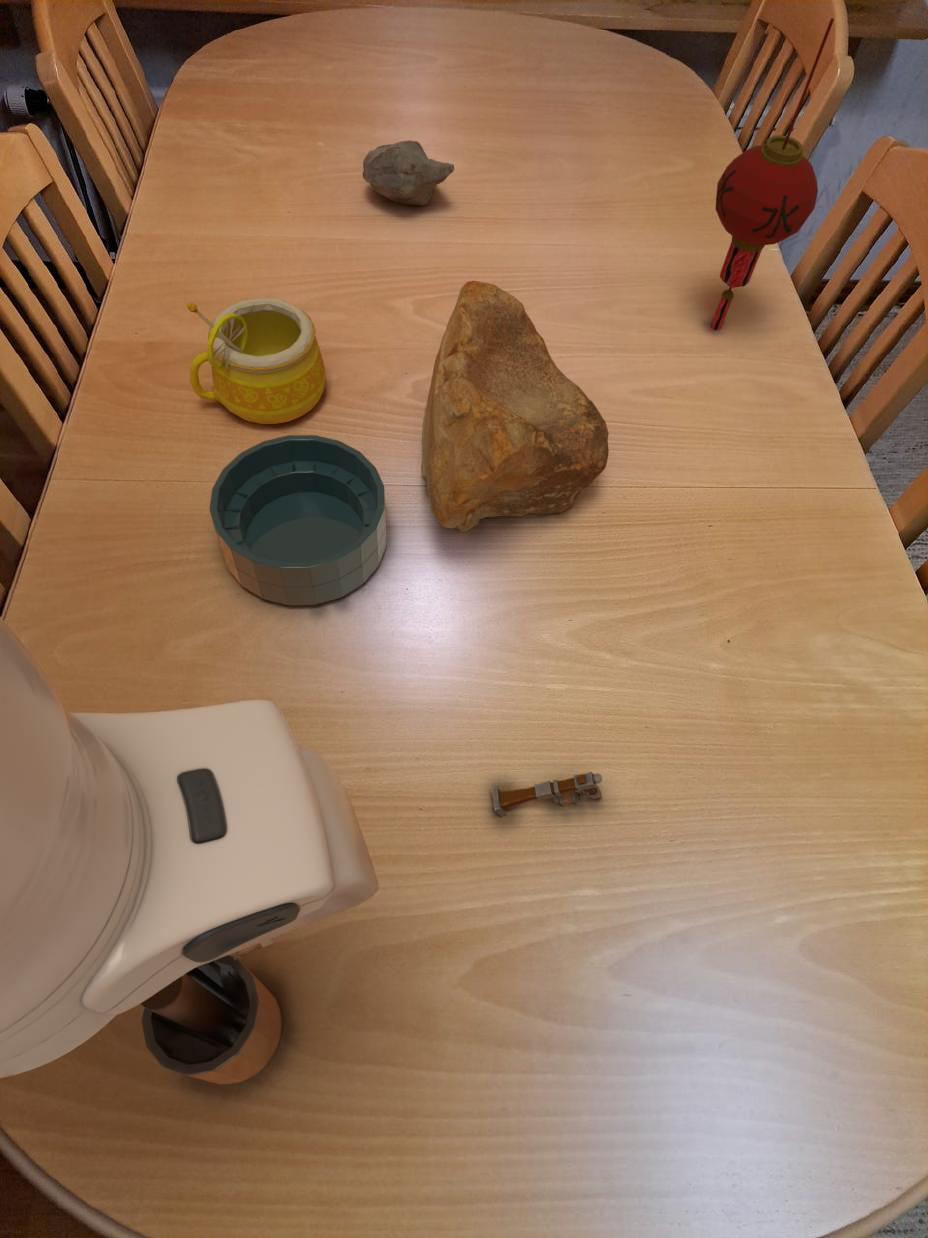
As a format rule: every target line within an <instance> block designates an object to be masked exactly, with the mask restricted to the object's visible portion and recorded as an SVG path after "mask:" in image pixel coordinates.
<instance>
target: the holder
mask: <svg viewBox="0 0 928 1238" xmlns="http://www.w3.org/2000/svg"><path fill="white" fill-rule="evenodd" d="M186 974H187V975H188V976H190V977H191V978H192V979H194V980H195V981H197V982H198V983H199V984H201V985H202V986H204V987H205V988H206V989H208V990H209V991H211V992H212V993H214V994H215V995H216V996H218V997H219V998H221V999H222V1000H223V1001H225V1002H226V1003H228V1004H229V1005H230V1006H232V1007H233V1008H235V1009H236V1010H237V1011H239V1012H240V1013H242V1014H243V1015H244V1016H245V1017H246V1025H245V1027H244V1029H243V1030H242V1032H241V1033H240V1035H239V1036H238V1038H237V1040H236V1041H235V1043H234V1044H233V1046H232V1047H227V1046H224V1045H222V1044H220V1043H218V1042H216V1041H214V1040H211V1039H209V1038H207V1037H205V1036H203V1035H201V1034H199V1033H197V1032H195V1031H192V1030H190V1029H188V1028H186V1027H184V1026H182V1025H180V1024H178V1023H175V1022H173V1021H171V1020H169V1019H167V1018H165V1017H163V1016H161V1015H158V1014H156V1013H154V1012H152V1011H150V1010H148V1009H146V1008H144V1007H143V1012H142V1016H141V1026H142V1030H143V1038H144V1043H145V1047H146V1048H147V1050H148V1051H149V1052H150V1054H151V1055H152V1056H153V1058H154V1059H155V1060H156V1061H157V1063H158V1064H159V1065H160V1066H161V1067H162V1068H164V1069H166V1070H169V1071H171V1072H175V1073H178V1074H180V1075H183V1076H186V1077H190V1078H194V1079H197V1080H202V1081H206V1082H209V1083H214V1084H216V1085H217V1084H218V1085H234V1084H237V1083H242V1082H244V1081H247V1080H248V1079H250V1078H253V1077H254V1076H255V1075H257V1074H258V1073H260V1072H261V1071H262V1070H263V1069H264V1068H265V1067H266V1066H267V1064H268V1063H269V1062H270V1060H272V1058H273V1056H274V1054H275V1053H276V1050H277V1049H278V1046H279V1043H280V1041H281V1036H282V1030H283V1029H282V1028H283V1027H282V1026H283V1023H282V1013H281V1010H280V1006H279V1004H278V1001H277V998H276V997H275V996H274V995H273V994H272V992H270V991H269V989H268V988H267V987H266V986H265V985H264V983H263V982H261V980H260V979H258V978H257V977H256V976H255V974H254V973H253V972H251V970H250V969H248V968H247V966H246V965H245V964H244V963H243V962H242V961H241V960H240V959H239V958H237V957H236V956H233V955H231V954H230V955H227V956H225V957H222V958H219V959H217V960H214V961H212V962H209V963H206V964H204V965H201V966H199V967H196V968H194V969H192V970H190V971H189V972H187V973H186Z"/></svg>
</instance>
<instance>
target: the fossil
mask: <svg viewBox="0 0 928 1238" xmlns="http://www.w3.org/2000/svg"><path fill="white" fill-rule="evenodd" d="M362 169H363V171H362V178H363V180H364V181H365V182H366V183H368V184H369V186H371V188H372V189H374V191H375V192H377V193H378V194H380V195H382V196H384V197H385V198H387V199H388V200H391V201H393V202H396V203H398V204H401V205H406V206H410V207H423V206H426V205H428V203H429V202H430V200H431V197H432V195H433V193H434V190H435V189H436V186H437V185H440V184H441V183H444V182H445V180H447V178H448V177H449V176H450V175H451V174H452V173H454V170H455V165H454V164H453V163H450V162H442V161H437V160H435V159H432V158H429V157H428V155H427V153H426V152H425V149H424V148H423V146H422V144H421V143H420V142H419V141H417V140H411V139H410V140H403V141H402V140H401V141H398V142H395V143H390V144H382V145H379V146H376V148H375V149H374V150H369V151H368V153H367V155H366V156H365V157H364V159H363V161H362Z"/></svg>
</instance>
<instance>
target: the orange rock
mask: <svg viewBox="0 0 928 1238" xmlns="http://www.w3.org/2000/svg"><path fill="white" fill-rule="evenodd" d="M421 432H422V434H421V435H422V436H421V437H422V438H421V443H422V456H421V464H420V466H421V467H420V470H421V471H420V472H421V478H422V480H423V481H424V482H425V484H427V495H428V499H429V507H430V508H429V509H430V512H431V514H433V515H434V517H435V519H436V521H437V522H438V523H439V524H440V525H441V527H442V528H447V529H457V530H458V531H460V532H461V533H463V532H467V531H469V530H471V529H472V528H474V527H476V526H479V524H480V520H481V519H484V518H493V517H502V516H504V517H524V516H528V515H529V514H531V513H532V514H537V515H540V514H541V515H551V514H561V513H563V512H565V511H566V510H567V509H569V508H571V506H573V504H574V503H575V501H576V500H577V499H578V497H579V495H580V494H581V492H582V491H583V490H585V489H586V488H588V487H589V486H590V485H591V484H592V483H593V482H594V481H595V480H596V479H597V478H598V477H599V476H600V475H601V473H602V472H603V471H604V470H605V469H606V468H607V463H608V459H609V452H610V450H609V430H608V426H607V421H605V419H604V417H603V415H602V414H601V413H600V411H599V410H598V408H597V406H596V405H595V403H594V402H593V400H591V399H590V398H589V397H588V396H587V395H586V393H585V392H584V391H583V390H582V388H581V387H579V385H578V384H576V383H575V382H574V381H572V380H571V379H570V378H568V377H567V376H566V375H565V374H564V373H563V372H562V371H561V369H559V368H558V366H557V364H556V363H555V361H554V360H553V358H552V357H551V355H550V353H549V350H548V348H547V345H546V341H545V339H544V338H543V337H542V336H541V334H540V333H539V332H538V331H537V328H536V326H535V324H534V322H533V320H532V319H531V318H530V316H529V314H528V313H527V311H526V309H525V305H524V304H523V303H522V302H521V301H519V299H517V297H516V296H514V295H513V294H511V293H509V292H508V291H505V290H504V289H501V288H500V287H499V286H497V285H495V284H493V283H489V282H484V281H479V280H469V281H467V282H465V284H463V285H462V287H461V288H460V290H459V293H458V295H457V299H456V302H455V306H454V308H453V311H452V313H451V315H450V317H449V319H448V322H447V325H446V328H445V330H444V332H443V335H442V337H441V342H440V345H439V348H438V351H437V354H436V356H435V360H434V364H433V370H432V374H431V380H430V385H429V391H428V396H427V402H426V406H425V409H424V415H423V422H422V431H421Z"/></svg>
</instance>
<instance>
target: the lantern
mask: <svg viewBox="0 0 928 1238" xmlns="http://www.w3.org/2000/svg"><path fill="white" fill-rule="evenodd" d="M834 21H835V18H830V20H829V22H828V25H827V27H826V31H825V33H824V36H823V38H822V42H821V44H820V46H819V49H818V52H817V54H816V57H815V60H814V62H813V65H812V67H811V70H810V73H809V75H808V78H807V81H806V84H805V87H804V89H803V91H802V94H801V96H800V100H799V101H798V104H797V108H796V110H795V113H794V115H793V118H792V121H791V123H790V126H789V128H788V131H787V134H786V135H781V134H780V135H778V134H777V135H773V136H770V137H767V139H766V141H765V142H764V144H762V145H756V146H753V147H750V148H747V149H746V150H745V151H743V152H742V153H741V154H739V155H738V156H736V157H735V158H734V159H732V160H731V162H730V163H729V164H728V165H727V166H726V167H725V169H724V171H723V173H722V174H721V176H720V178H719V180H718V181H717V184H716V185H717V186H716V194H715V195H716V196H715V212H716V214H717V216H718V219H719V221H720V224H721V225H722V227H723V228H724V230H725V232H727V233H728V234H729V235H730V236H731V242H730V244H729V247H728V250H727V253H726V255H725V258H724V261H723V264H722V267H721V270H720V273H719V278H720V280H721V281H722V282H723V283H724V284H726V285H727V287H729V288H728V289H725V290H723V292H722V293H721V297H720V298H719V302H718V305H717V307H716V310H715V313H714V316H713V318H712V321H711V323H710V327H711V329H713V330H714V331H719V330H721V329H722V327H723V324H724V322H725V319H726V317H727V315H728V312H729V309H730V307H731V304H732V301H733V299H734V295H735V294H734V293H735V292H733V289H735V288H740V287H745V286H747V285H748V284H749V283H750V281H751V279H752V276H753V273H754V271H755V269H756V266H757V263H758V261H759V258H760V255H761V253H762V250H763V249H764V248H765V246H770V245H771V246H772V245H775V244H778V243H780V242H782V241H784V240H786V239H789V238H790V237H792V236H793V235H795V234H797V233H798V232H799V231H800V230H801V229H802V227H803V226H804V224H805V223H806V221H808V219H809V217H810V216H811V214H812V213H813V212H814V210H815V209H816V203H817V197H818V192H819V189H818V180H817V177H816V173H815V170H814V166H813V165H812V164H811V163H810V161H809V160H808V159H807V157H805V156H804V155H803V151H804V146H803V145H802V143H801V142H800V141H799V140H797V139H795V138H794V137H791V134H792V131H793V129H794V126H795V124H796V121H797V118H798V115H799V113H800V110H801V107H802V105H803V102H804V100H805V98H806V94H807V92H808V90H809V87H810V84H811V81H812V79H813V76H814V73H815V71H816V68H817V65H818V63H819V60H820V57H821V55H822V53H823V49H824V47H825V45H826V42H827V39H828V37H829V34H830V32H831V29H832V26H833V23H834Z"/></svg>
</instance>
